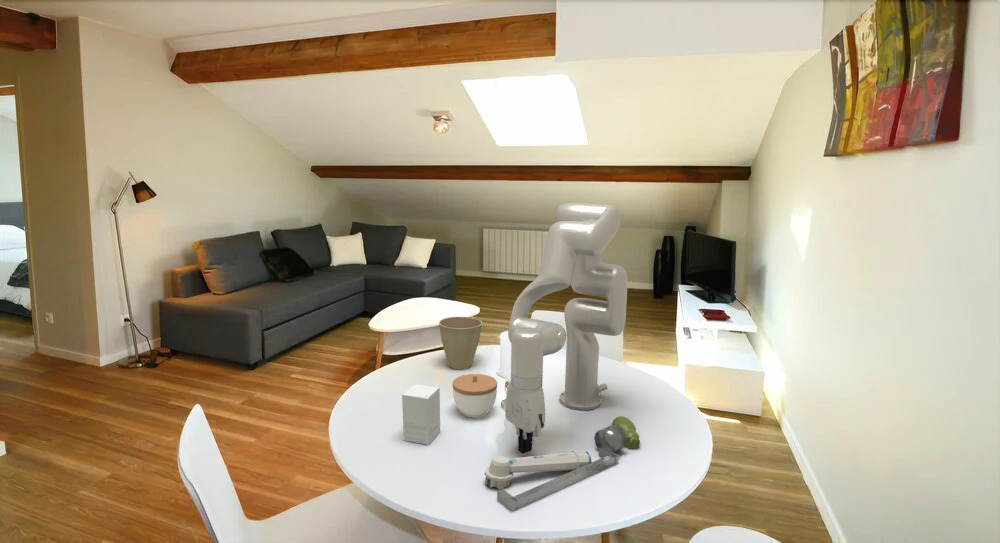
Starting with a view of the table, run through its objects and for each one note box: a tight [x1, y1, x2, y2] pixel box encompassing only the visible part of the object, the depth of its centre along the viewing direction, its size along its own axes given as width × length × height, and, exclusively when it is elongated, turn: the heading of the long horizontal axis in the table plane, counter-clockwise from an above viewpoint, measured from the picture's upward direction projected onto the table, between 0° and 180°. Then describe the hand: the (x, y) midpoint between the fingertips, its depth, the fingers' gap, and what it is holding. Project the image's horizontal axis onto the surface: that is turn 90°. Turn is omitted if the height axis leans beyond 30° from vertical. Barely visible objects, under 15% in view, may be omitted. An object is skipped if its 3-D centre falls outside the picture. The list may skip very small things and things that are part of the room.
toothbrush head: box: [483, 449, 593, 490], centre depth 122 cm, size 5×7×25 cm
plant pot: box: [438, 316, 483, 371], centre depth 187 cm, size 15×15×16 cm
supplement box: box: [401, 383, 441, 446], centre depth 138 cm, size 7×7×13 cm
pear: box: [611, 415, 641, 449], centre depth 138 cm, size 6×5×10 cm
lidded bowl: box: [452, 373, 498, 419], centre depth 152 cm, size 13×13×11 cm
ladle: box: [496, 424, 627, 513], centre depth 123 cm, size 37×8×6 cm, turn 126°
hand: (524, 451), depth 131 cm, fingers closed
